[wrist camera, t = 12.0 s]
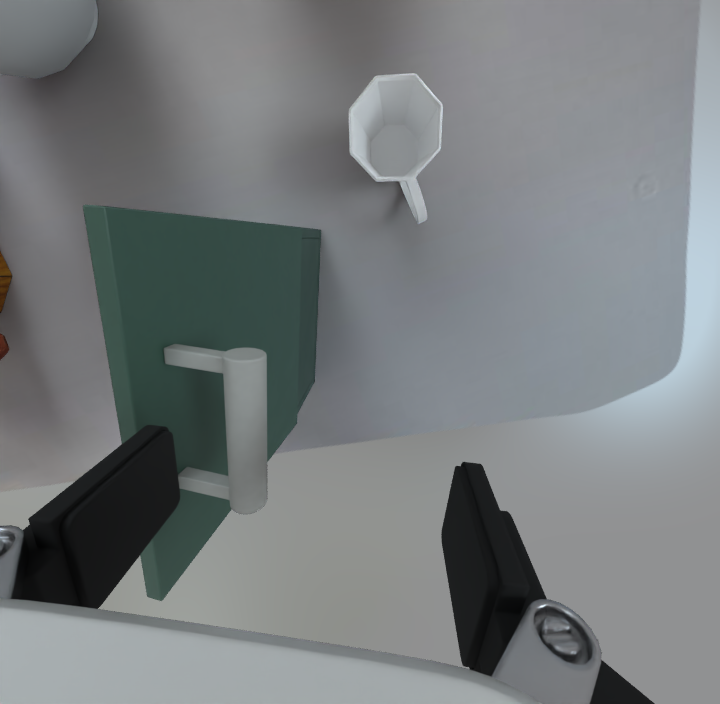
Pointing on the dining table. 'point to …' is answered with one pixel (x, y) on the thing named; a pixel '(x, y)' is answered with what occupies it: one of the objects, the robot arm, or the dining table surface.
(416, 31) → the dining table surface
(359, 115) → the cup
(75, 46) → the vase
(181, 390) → the cool box lid
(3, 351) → the mug
